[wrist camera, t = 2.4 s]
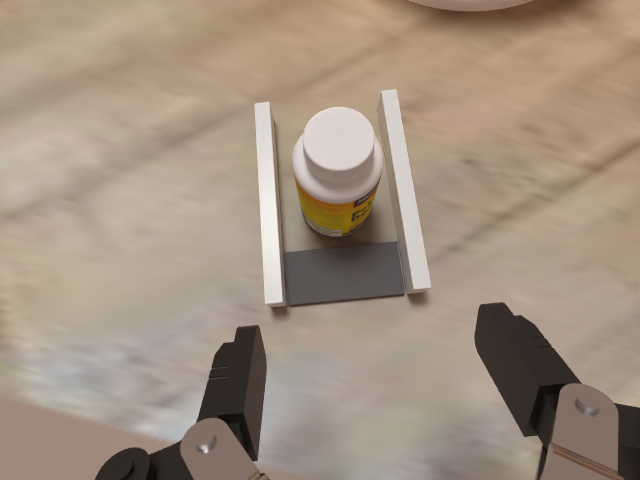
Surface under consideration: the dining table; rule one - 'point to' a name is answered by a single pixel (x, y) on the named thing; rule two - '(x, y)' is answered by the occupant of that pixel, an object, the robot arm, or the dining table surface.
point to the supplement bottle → (337, 170)
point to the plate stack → (470, 4)
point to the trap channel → (342, 262)
